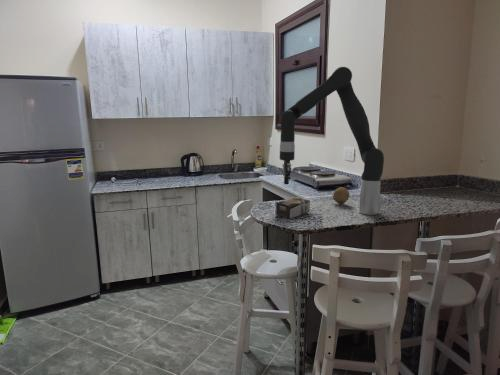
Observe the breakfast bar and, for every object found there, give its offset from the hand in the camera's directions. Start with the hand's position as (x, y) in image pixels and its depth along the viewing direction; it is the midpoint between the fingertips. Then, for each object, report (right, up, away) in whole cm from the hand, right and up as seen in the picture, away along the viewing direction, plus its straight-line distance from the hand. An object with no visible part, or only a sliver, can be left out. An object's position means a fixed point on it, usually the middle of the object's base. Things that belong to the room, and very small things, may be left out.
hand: (286, 184), depth 184 cm
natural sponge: (+32, -12, +16) cm, 38 cm away
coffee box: (+9, -10, 0) cm, 13 cm away
